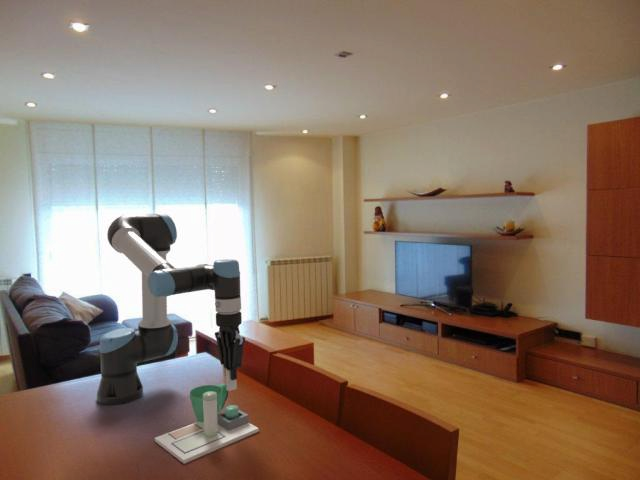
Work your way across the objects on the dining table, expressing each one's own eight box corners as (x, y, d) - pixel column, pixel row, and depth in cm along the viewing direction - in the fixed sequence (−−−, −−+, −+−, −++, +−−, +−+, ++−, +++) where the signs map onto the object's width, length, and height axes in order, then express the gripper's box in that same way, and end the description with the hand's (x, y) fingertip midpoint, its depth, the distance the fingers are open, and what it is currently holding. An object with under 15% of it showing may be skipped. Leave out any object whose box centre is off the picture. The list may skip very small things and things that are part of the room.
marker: (201, 434, 133) (200, 394, 132) (213, 430, 136) (212, 390, 135) (208, 439, 130) (207, 398, 129) (220, 434, 133) (219, 394, 132)
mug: (208, 432, 138) (207, 399, 137) (183, 425, 142) (182, 394, 142) (238, 412, 151) (238, 382, 150) (215, 407, 155) (214, 378, 155)
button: (222, 417, 140) (222, 408, 140) (233, 413, 143) (233, 404, 143) (230, 421, 137) (229, 412, 137) (241, 417, 140) (241, 407, 140)
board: (154, 441, 132) (154, 429, 132) (226, 414, 149) (226, 403, 149) (183, 463, 120) (183, 450, 120) (258, 431, 137) (258, 419, 137)
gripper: (205, 311, 140) (209, 387, 142) (229, 316, 131) (233, 398, 132) (227, 307, 145) (230, 380, 147) (251, 312, 136) (254, 391, 137)
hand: (231, 389), depth 139 cm, fingers closed
